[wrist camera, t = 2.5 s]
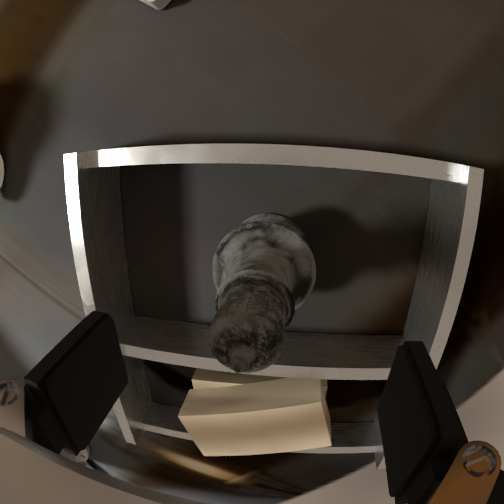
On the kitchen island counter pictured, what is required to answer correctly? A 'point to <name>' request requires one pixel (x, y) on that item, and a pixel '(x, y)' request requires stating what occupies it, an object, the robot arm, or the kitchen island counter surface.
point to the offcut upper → (258, 417)
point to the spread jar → (1, 171)
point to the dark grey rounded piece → (258, 290)
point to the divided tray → (295, 343)
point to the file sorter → (157, 3)
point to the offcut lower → (231, 379)
